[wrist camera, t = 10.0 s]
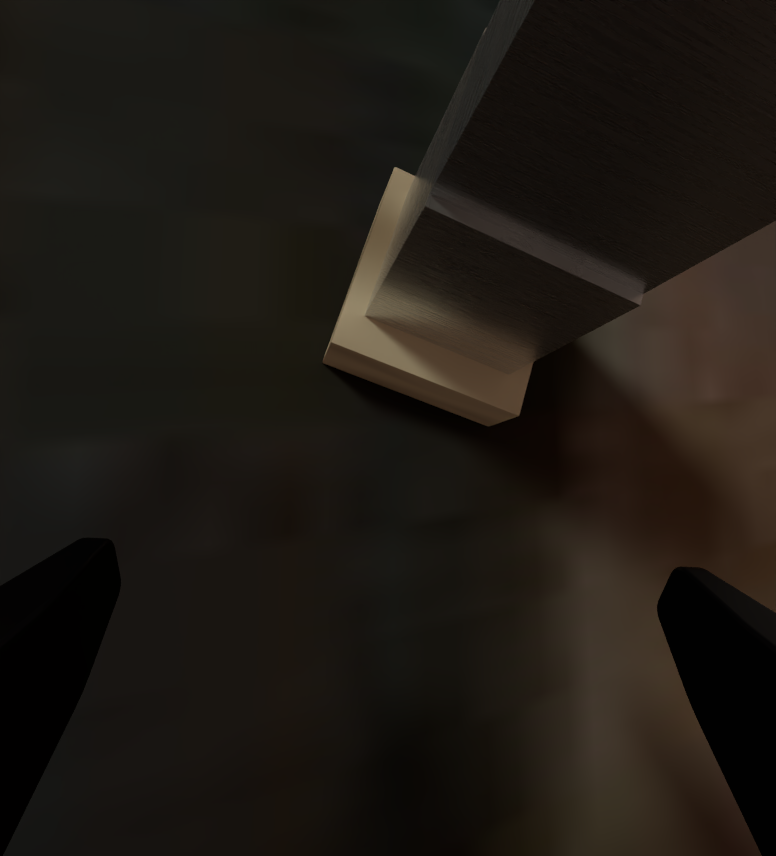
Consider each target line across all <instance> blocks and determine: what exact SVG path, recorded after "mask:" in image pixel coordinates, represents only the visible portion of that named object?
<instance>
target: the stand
mask: <svg viewBox="0 0 776 856" xmlns="http://www.w3.org/2000/svg"><path fill="white" fill-rule="evenodd" d="M414 178H415V176H413V175H411V174H409V173H407V172H405V171H403V170H401V169H398V168H396V167H395V168H394V170H393V173H392V175H391V177H390V180H389V182H388V185H387V187H386V190H385V192H384V195H383V197H382V200H381V202H380V205H379V208H378V210H377V213H376V216H375V219H374V221H373V224H372V227H371V230H370V232H369V235H368V238H367V241H366V243H365V246H364V249H363V251H362V254H361V257H360V260H359V262H358V265H357V268H356V271H355V273H354V276H353V279H352V282H351V284H350V287H349V290H348V293H347V295H346V298H345V301H344V304H343V306H342V309H341V312H340V315H339V317H338V320H337V323H336V326H335V328H334V331H333V334H332V337H331V339H330V342H329V345H328V348H327V350H326V353H325V356H324V359H323V361H322V363H324V364H327V365H329V366H332V367H334V368H337V369H340V370H342V371H345V372H347V373H350V374H353V375H355V376H358V377H360V378H363V379H366V380H368V381H371V382H373V383H376V384H379V385H381V386H384V387H386V388H389V389H392V390H394V391H397V392H399V393H402V394H405V395H407V396H410V397H412V398H415V399H418V400H420V401H423V402H425V403H428V404H431V405H433V406H436V407H438V408H441V409H444V410H446V411H449V412H451V413H454V414H457V415H459V416H462V417H465V418H467V419H470V420H472V421H475V422H478V423H480V424H483V425H485V426H488V427H489V426H492V425H495V424H498V423H500V422H503V421H506V420H509V419H512V418H515V417H518V416H519V415H520V411H521V407H522V403H523V399H524V396H525V392H526V388H527V384H528V380H529V377H530V373H531V369H532V365H533V362H532V363H530V364H528V365H526V366H524V367H523V368H521V369H519V370H517V371H515V372H513V373H511V374H506V373H504V372H501V371H499V370H496V369H494V368H492V367H489V366H487V365H484V364H482V363H479V362H477V361H474V360H472V359H469V358H467V357H465V356H462V355H460V354H457V353H455V352H452V351H450V350H447V349H445V348H442V347H440V346H438V345H435V344H433V343H430V342H428V341H425V340H423V339H420V338H418V337H416V336H413V335H411V334H408V333H406V332H403V331H401V330H398V329H396V328H393V327H391V326H389V325H386V324H384V323H381V322H379V321H376V320H374V319H371V318H369V317H366V316H364V315H365V312H366V309H367V307H368V304H369V301H370V298H371V295H372V292H373V290H374V287H375V284H376V281H377V278H378V275H379V272H380V270H381V267H382V264H383V261H384V258H385V255H386V252H387V250H388V247H389V244H390V241H391V238H392V235H393V233H394V230H395V227H396V224H397V221H398V218H399V215H400V213H401V210H402V207H403V204H404V201H405V198H406V195H407V193H408V190H409V188H410V186H411V184H412V182H413V180H414Z"/></svg>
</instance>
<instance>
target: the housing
mask: <svg viewBox="0 0 776 856" xmlns="http://www.w3.org/2000/svg"><path fill="white" fill-rule="evenodd" d="M774 221H776V0H500V1H499V3H498V6H497V8H496V10H495V12H494V14H493V16H492V18H491V20H490V22H489V24H488V27H487V28H485V30H484V32H483V34H482V36H481V38H480V41H479V43H478V45H477V47H476V49H475V51H474V53H473V55H472V57H471V60H470V62H469V64H468V66H467V68H466V70H465V72H464V74H463V76H462V79H461V81H460V83H459V85H458V87H457V89H456V91H455V93H454V95H453V98H452V100H451V102H450V104H449V106H448V108H447V110H446V112H445V114H444V116H443V119H442V121H441V123H440V125H439V127H438V129H437V131H436V133H435V135H434V138H433V140H432V142H431V144H430V146H429V148H428V150H427V152H426V154H425V157H424V159H423V161H422V163H421V165H420V167H419V169H418V171H417V173H416V176H415V178H414V180H413V182H412V184H411V186H410V188H409V190H408V193H407V195H406V198H405V201H404V204H403V207H402V210H401V213H400V215H399V218H398V221H397V224H396V227H395V230H394V233H393V235H392V238H391V241H390V244H389V247H388V250H387V252H386V255H385V258H384V261H383V264H382V267H381V270H380V272H379V275H378V278H377V281H376V284H375V287H374V290H373V292H372V295H371V298H370V301H369V304H368V307H367V309H366V312H365V315H364V316H366V317H369V318H371V319H374V320H376V321H379V322H381V323H384V324H386V325H389V326H391V327H393V328H396V329H398V330H401V331H403V332H406V333H408V334H411V335H413V336H416V337H418V338H420V339H423V340H425V341H428V342H430V343H433V344H435V345H438V346H440V347H442V348H445V349H447V350H450V351H452V352H455V353H457V354H460V355H462V356H465V357H467V358H469V359H472V360H474V361H477V362H479V363H482V364H484V365H487V366H489V367H492V368H494V369H496V370H499V371H501V372H504V373H506V374H511V373H513V372H515V371H517V370H519V369H521V368H523V367H524V366H526V365H528V364H530V363H532V362H534V361H536V360H538V359H540V358H542V357H543V356H545V355H547V354H549V353H551V352H553V351H555V350H557V349H559V348H561V347H562V346H564V345H566V344H568V343H570V342H572V341H574V340H576V339H578V338H579V337H581V336H583V335H585V334H587V333H589V332H591V331H593V330H595V329H597V328H598V327H600V326H602V325H604V324H606V323H608V322H610V321H612V320H614V319H616V318H617V317H619V316H621V315H623V314H625V313H627V312H629V311H631V310H633V309H635V308H636V307H638V306H640V305H641V301H642V297H643V294H644V293H646V292H648V291H649V290H651V289H653V288H655V287H657V286H658V285H660V284H662V283H664V282H666V281H668V280H669V279H671V278H673V277H675V276H677V275H678V274H680V273H682V272H684V271H686V270H687V269H689V268H691V267H693V266H695V265H696V264H698V263H700V262H702V261H704V260H705V259H707V258H709V257H711V256H713V255H715V254H716V253H718V252H720V251H722V250H724V249H725V248H727V247H729V246H731V245H733V244H734V243H736V242H738V241H740V240H742V239H743V238H745V237H747V236H749V235H751V234H752V233H754V232H756V231H758V230H760V229H762V228H763V227H765V226H767V225H769V224H771V223H772V222H774Z"/></svg>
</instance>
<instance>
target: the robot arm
mask: <svg viewBox="0 0 776 856" xmlns="http://www.w3.org/2000/svg"><path fill="white" fill-rule="evenodd" d="M120 587H121V578H120V572H119V567H118V562H117V556H116V551H115V547H114V544H113V542H112V541H111V540H109V539H105V538H82V539H79V540H77V541H75V542H74V543H72V544H70V545H69V546H67V547H65V548H64V549H62V550H60V551H58V552H57V553H55V554H53V555H52V556H50V557H48V558H47V559H45V560H43V561H42V562H40V563H38V564H37V565H35V566H33V567H32V568H30V569H28V570H26V571H25V572H23V573H21V574H20V575H18V576H16V577H15V578H13V579H11V580H10V581H8V582H6V583H5V584H3V585H1V586H0V856H3V854H4V852H5V850H6V848H7V846H8V844H9V842H10V840H11V838H12V836H13V834H14V832H15V830H16V828H17V826H18V824H19V821H20V819H21V817H22V815H23V813H24V811H25V809H26V807H27V805H28V803H29V801H30V799H31V797H32V795H33V793H34V791H35V789H36V787H37V785H38V783H39V781H40V779H41V777H42V775H43V773H44V771H45V769H46V767H47V765H48V763H49V760H50V758H51V756H52V754H53V752H54V750H55V748H56V746H57V744H58V742H59V740H60V738H61V736H62V734H63V732H64V730H65V728H66V726H67V724H68V722H69V720H70V718H71V716H72V714H73V712H74V710H75V707H76V705H77V703H78V701H79V699H80V697H81V695H82V692H83V690H84V687H85V685H86V682H87V680H88V677H89V675H90V672H91V669H92V667H93V664H94V661H95V658H96V656H97V653H98V650H99V647H100V645H101V642H102V639H103V637H104V634H105V631H106V628H107V626H108V623H109V620H110V618H111V615H112V612H113V609H114V607H115V604H116V601H117V598H118V596H119V592H120ZM657 612H658V617H659V620H660V623H661V626H662V628H663V631H664V634H665V637H666V639H667V642H668V645H669V647H670V650H671V653H672V656H673V658H674V661H675V664H676V667H677V669H678V672H679V675H680V678H681V680H682V683H683V686H684V688H685V691H686V694H687V696H688V699H689V701H690V704H691V706H692V709H693V711H694V713H695V715H696V718H697V720H698V722H699V724H700V726H701V728H702V731H703V733H704V735H705V737H706V739H707V741H708V743H709V745H710V747H711V749H712V752H713V754H714V756H715V758H716V760H717V762H718V764H719V766H720V768H721V771H722V773H723V775H724V777H725V779H726V781H727V783H728V785H729V787H730V789H731V792H732V794H733V796H734V798H735V800H736V802H737V804H738V806H739V808H740V811H741V813H742V815H743V817H744V819H745V821H746V823H747V825H748V827H749V829H750V832H751V834H752V836H753V838H754V840H755V842H756V844H757V846H758V848H759V850H760V853H761V855H762V856H776V613H775V612H773V611H772V610H770V609H768V608H767V607H765V606H764V605H762V604H760V603H759V602H757V601H755V600H754V599H752V598H751V597H749V596H747V595H746V594H744V593H743V592H741V591H739V590H738V589H736V588H734V587H733V586H731V585H730V584H728V583H726V582H725V581H723V580H722V579H720V578H718V577H717V576H715V575H713V574H712V573H710V572H709V571H707V570H705V569H703V568H698V567H677V568H676V569H674V570H673V571H672V573H671V575H670V577H669V579H668V581H667V583H666V585H665V587H664V590H663V592H662V594H661V596H660V598H659V601H658V605H657Z"/></svg>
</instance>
